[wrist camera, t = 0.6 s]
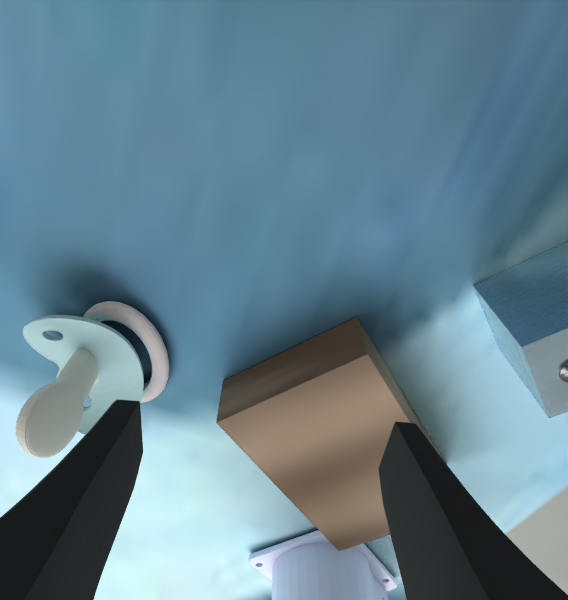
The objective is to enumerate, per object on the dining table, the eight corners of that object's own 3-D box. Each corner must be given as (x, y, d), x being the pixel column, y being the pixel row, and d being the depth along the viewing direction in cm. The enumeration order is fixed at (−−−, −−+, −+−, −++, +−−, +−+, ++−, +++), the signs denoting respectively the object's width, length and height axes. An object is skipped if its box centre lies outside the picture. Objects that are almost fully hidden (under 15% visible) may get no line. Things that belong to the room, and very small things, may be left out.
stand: (447, 465, 27) (464, 509, 25) (333, 506, 29) (338, 551, 27) (356, 316, 22) (367, 354, 19) (223, 380, 24) (216, 422, 21)
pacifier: (152, 283, 21) (28, 295, 21) (114, 367, 15) (-54, 384, 15) (183, 396, 25) (78, 407, 25) (162, 496, 19) (26, 509, 19)
